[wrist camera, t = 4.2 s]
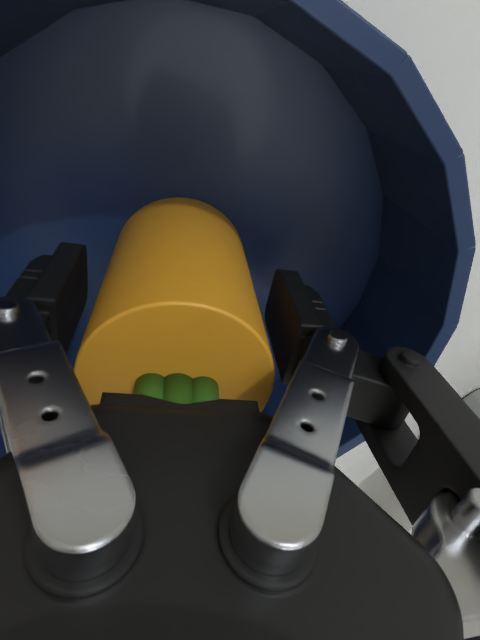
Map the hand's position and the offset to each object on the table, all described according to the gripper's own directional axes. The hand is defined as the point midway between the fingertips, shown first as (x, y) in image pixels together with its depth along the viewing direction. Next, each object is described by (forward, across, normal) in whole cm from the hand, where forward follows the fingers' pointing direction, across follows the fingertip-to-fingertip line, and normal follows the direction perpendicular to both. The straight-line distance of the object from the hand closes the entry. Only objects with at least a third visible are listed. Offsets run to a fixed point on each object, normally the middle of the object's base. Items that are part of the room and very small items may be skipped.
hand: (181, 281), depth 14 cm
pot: (+2, 0, 0) cm, 2 cm away
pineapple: (+2, 0, 0) cm, 2 cm away
